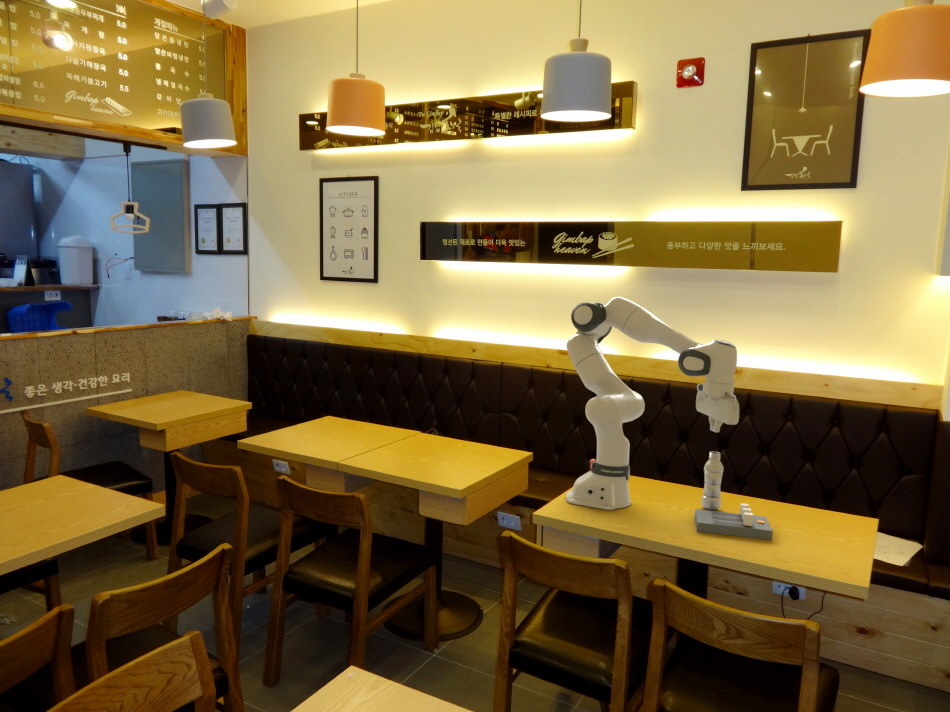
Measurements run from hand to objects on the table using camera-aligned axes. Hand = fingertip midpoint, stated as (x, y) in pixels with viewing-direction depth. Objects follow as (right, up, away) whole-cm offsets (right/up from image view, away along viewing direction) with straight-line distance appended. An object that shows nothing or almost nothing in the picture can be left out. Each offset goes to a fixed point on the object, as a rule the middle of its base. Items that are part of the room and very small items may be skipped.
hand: (714, 431), depth 229 cm
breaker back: (+8, -27, -3) cm, 28 cm away
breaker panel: (+3, -30, -6) cm, 31 cm away
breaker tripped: (+7, -27, -8) cm, 29 cm away
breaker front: (+6, -28, -12) cm, 31 cm away
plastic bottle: (+3, -28, +12) cm, 31 cm away
